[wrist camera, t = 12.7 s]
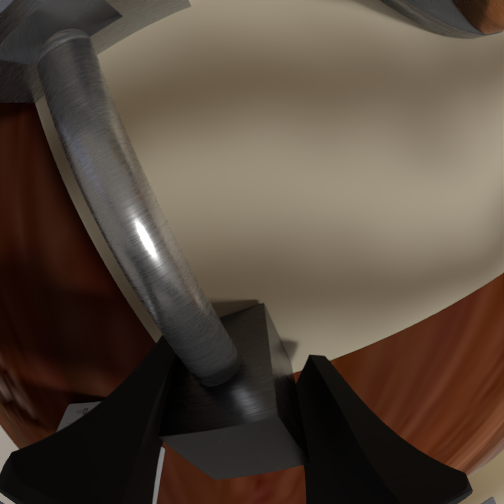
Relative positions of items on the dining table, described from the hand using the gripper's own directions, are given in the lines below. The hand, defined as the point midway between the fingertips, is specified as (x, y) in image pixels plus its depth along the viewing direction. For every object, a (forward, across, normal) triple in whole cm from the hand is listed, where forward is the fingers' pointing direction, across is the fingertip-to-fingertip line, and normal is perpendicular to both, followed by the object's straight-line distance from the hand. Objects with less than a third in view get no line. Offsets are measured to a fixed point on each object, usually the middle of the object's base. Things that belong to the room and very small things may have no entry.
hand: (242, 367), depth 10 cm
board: (+2, -2, -10) cm, 11 cm away
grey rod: (+1, +3, -4) cm, 5 cm away
